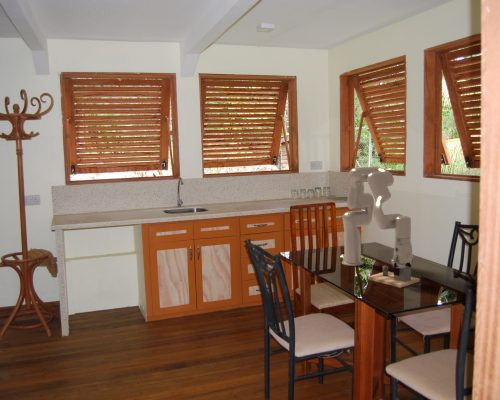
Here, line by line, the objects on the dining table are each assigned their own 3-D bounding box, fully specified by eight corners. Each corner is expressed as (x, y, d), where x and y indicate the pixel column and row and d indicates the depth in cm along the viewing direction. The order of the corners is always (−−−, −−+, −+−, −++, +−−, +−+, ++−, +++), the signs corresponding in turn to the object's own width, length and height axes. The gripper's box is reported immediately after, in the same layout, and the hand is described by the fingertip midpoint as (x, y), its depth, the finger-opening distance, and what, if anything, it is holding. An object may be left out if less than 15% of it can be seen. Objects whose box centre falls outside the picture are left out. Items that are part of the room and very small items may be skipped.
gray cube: (403, 281, 243) (403, 269, 242) (393, 279, 248) (393, 266, 247) (410, 279, 247) (411, 267, 246) (400, 277, 252) (401, 264, 251)
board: (367, 279, 255) (368, 267, 254) (387, 273, 265) (387, 262, 264) (400, 287, 239) (400, 274, 238) (419, 281, 249) (419, 269, 248)
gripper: (398, 244, 237) (398, 278, 239) (419, 239, 247) (418, 271, 249) (385, 241, 243) (385, 275, 245) (406, 237, 253) (406, 269, 255)
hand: (402, 273), depth 247 cm, fingers open, 9 cm apart
